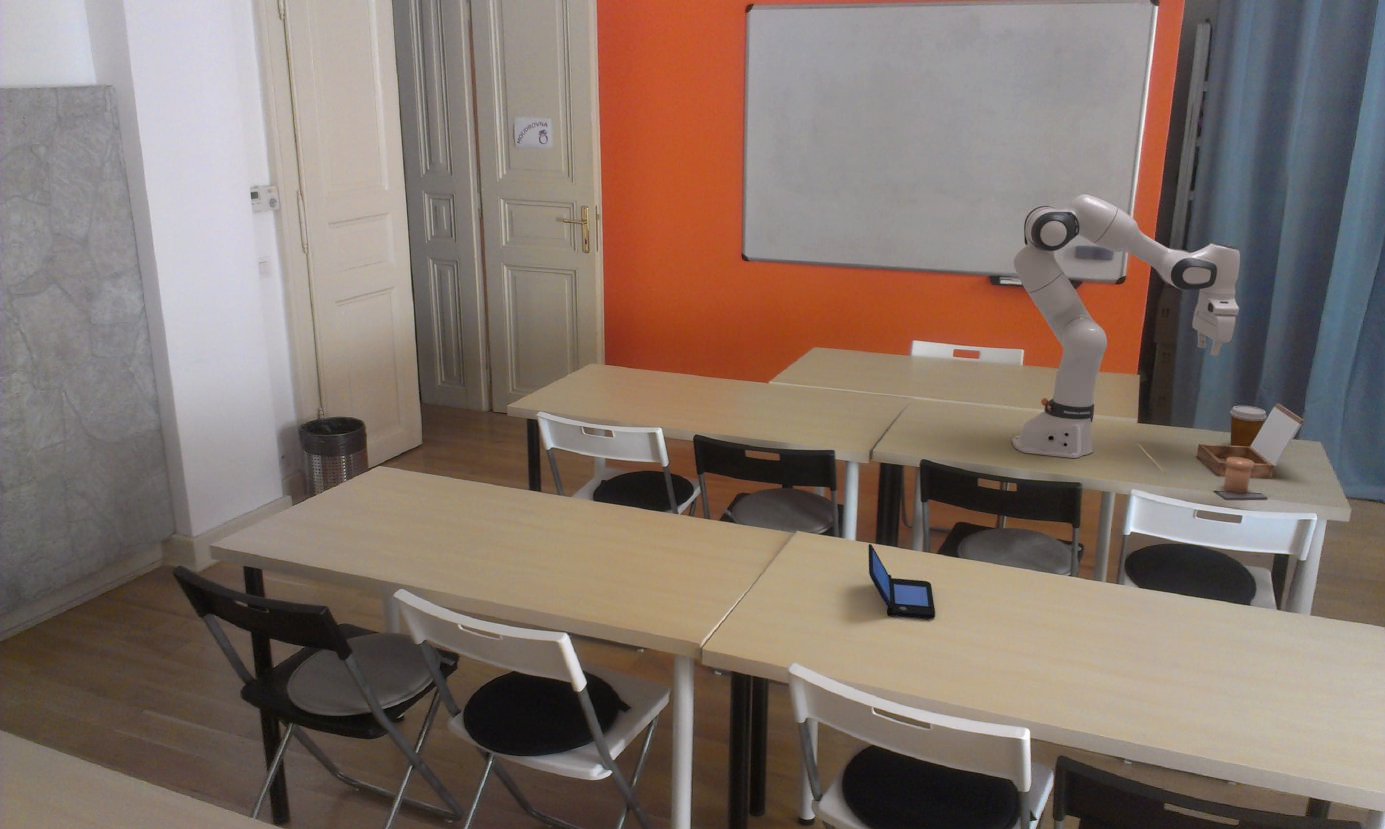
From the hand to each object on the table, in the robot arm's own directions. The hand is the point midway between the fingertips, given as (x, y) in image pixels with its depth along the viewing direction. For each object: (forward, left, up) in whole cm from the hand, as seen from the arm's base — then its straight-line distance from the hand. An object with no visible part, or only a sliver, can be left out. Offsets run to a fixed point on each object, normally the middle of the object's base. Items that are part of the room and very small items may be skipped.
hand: (1207, 351), depth 287 cm
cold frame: (+8, -10, -31) cm, 34 cm away
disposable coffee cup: (+18, +10, -31) cm, 37 cm away
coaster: (+2, -28, -31) cm, 42 cm away
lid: (+17, -10, -20) cm, 28 cm away
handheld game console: (-90, -103, -32) cm, 140 cm away
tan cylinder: (+2, -28, -30) cm, 41 cm away
